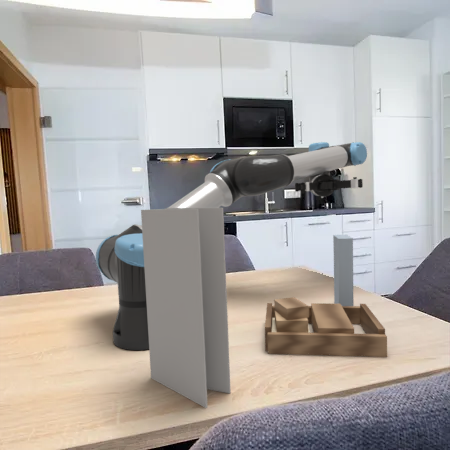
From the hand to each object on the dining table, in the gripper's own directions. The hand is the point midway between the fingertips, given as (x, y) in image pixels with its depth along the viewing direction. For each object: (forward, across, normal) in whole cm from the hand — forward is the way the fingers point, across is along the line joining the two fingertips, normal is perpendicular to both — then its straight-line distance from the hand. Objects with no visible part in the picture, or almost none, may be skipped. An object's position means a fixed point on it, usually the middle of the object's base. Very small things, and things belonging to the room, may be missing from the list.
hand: (332, 185), depth 103 cm
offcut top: (+30, +14, -28) cm, 43 cm away
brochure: (+51, +32, -32) cm, 69 cm away
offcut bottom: (+29, +14, -34) cm, 47 cm away
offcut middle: (+30, +14, -30) cm, 45 cm away
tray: (+29, +8, -33) cm, 45 cm away
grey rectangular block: (+12, 0, -33) cm, 36 cm away
